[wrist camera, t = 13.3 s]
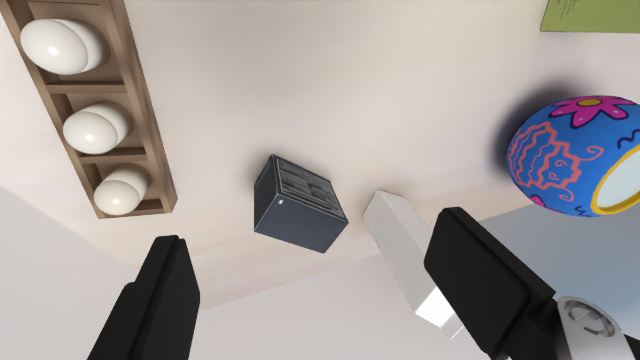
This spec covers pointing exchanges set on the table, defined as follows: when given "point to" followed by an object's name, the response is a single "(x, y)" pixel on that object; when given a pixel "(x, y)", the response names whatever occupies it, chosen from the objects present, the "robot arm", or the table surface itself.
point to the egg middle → (98, 127)
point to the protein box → (592, 16)
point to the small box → (297, 206)
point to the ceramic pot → (579, 156)
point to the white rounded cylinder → (65, 45)
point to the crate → (100, 97)
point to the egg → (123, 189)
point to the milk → (409, 257)
